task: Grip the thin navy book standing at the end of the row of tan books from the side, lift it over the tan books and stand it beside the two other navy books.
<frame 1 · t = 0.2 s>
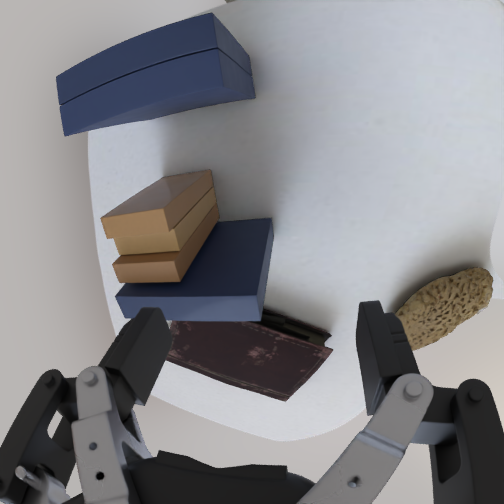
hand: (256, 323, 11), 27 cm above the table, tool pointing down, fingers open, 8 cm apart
sponge: (432, 299, 40), on the table
tan books: (190, 197, 38), on the table
diary: (244, 338, 49), on the table
navy book: (222, 231, 40), on the table
navy book pair: (196, 86, 30), on the table
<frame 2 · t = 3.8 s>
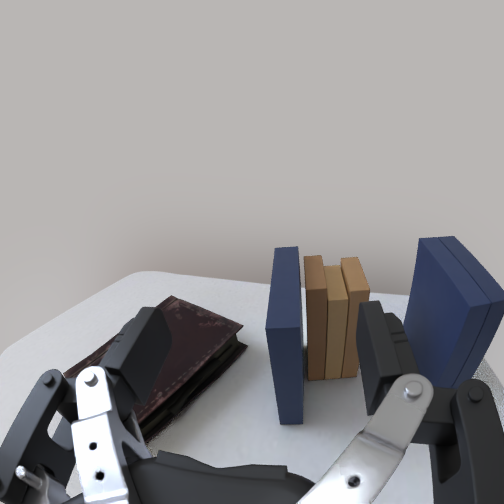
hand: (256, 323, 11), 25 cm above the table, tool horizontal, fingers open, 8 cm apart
tan books: (330, 360, 38), on the table
diary: (157, 375, 40), on the table
navy book: (293, 381, 36), on the table
navy book pair: (428, 365, 32), on the table
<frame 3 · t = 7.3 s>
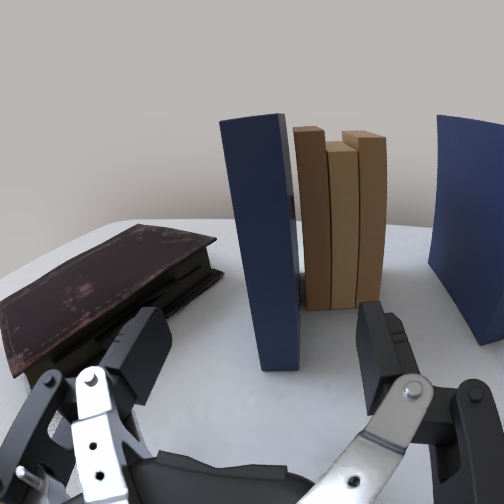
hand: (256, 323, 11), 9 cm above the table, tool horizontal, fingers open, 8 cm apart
tan books: (338, 287, 28), on the table
diary: (104, 310, 30), on the table
navy book: (284, 312, 26), on the table
navy book pair: (472, 294, 22), on the table
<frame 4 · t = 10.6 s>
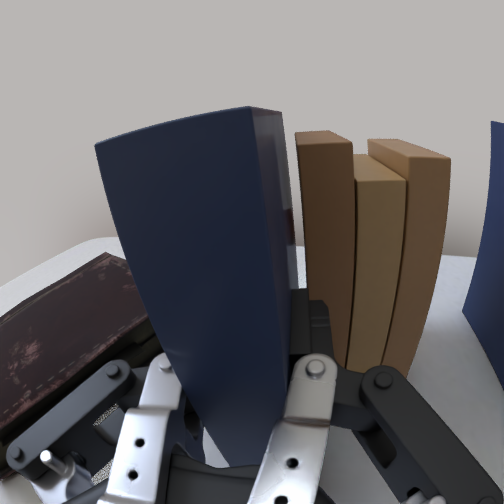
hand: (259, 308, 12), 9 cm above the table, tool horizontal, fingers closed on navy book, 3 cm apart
tan books: (352, 355, 20), on the table
diary: (63, 366, 21), on the table
navy book: (279, 395, 18), on the table, touching gripper
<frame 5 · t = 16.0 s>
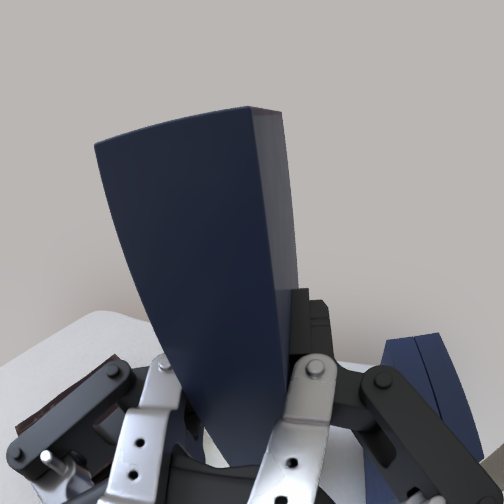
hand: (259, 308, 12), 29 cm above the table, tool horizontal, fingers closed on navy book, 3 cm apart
diary: (98, 439, 31), on the table
navy book: (279, 395, 18), point 19 cm above the table, touching gripper
navy book pair: (386, 465, 24), on the table
when the fingers open (9 cm above the table, at t = 21.7 s): navy book stays where it is, on the table.
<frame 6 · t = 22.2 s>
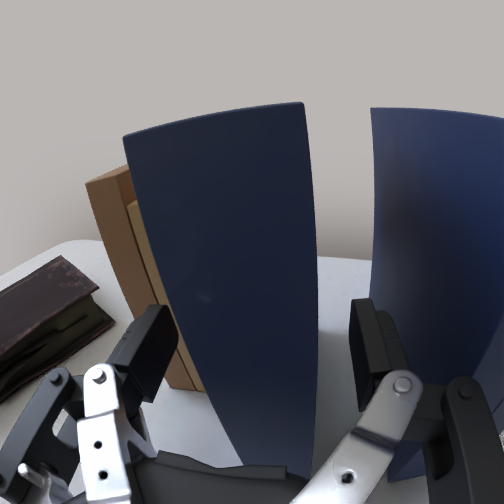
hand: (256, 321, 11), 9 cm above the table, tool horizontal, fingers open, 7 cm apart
tan books: (222, 358, 22), on the table
diary: (18, 348, 24), on the table
navy book: (292, 397, 17), on the table
navy book pair: (415, 385, 16), on the table
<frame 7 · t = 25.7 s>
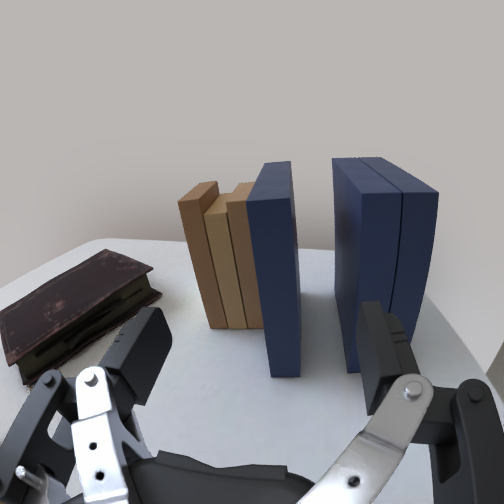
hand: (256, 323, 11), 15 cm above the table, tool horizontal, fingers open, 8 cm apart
tan books: (242, 310, 35), on the table
diary: (75, 320, 37), on the table
navy book: (288, 328, 31), on the table
navy book pair: (364, 323, 30), on the table
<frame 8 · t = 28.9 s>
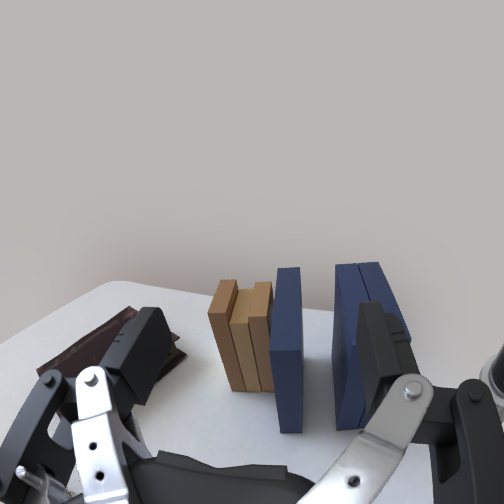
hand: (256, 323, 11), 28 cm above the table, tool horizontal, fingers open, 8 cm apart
tan books: (257, 374, 41), on the table
diary: (111, 375, 43), on the table
navy book: (293, 392, 37), on the table
navy book pair: (353, 388, 36), on the table
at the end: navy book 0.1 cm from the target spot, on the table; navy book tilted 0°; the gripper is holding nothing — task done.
